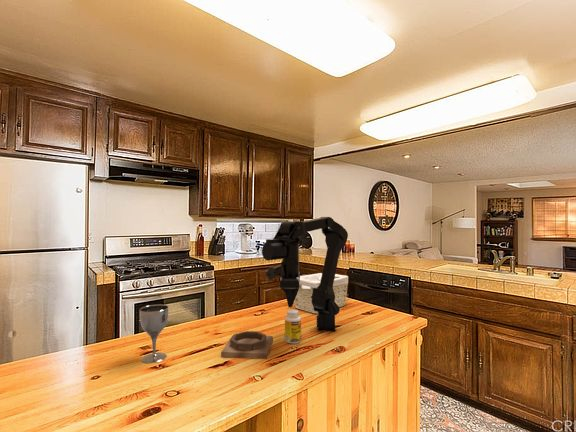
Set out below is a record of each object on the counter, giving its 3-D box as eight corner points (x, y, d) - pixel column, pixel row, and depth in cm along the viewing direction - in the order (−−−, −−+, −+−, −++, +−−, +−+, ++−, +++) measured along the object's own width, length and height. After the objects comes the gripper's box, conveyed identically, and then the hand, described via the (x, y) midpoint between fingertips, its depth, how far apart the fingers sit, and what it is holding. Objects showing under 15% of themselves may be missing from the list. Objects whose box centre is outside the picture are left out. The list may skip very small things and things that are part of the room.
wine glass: (140, 366, 88) (140, 313, 88) (139, 355, 95) (139, 306, 95) (169, 360, 92) (169, 309, 92) (166, 350, 99) (166, 303, 99)
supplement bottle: (290, 345, 102) (290, 314, 103) (281, 340, 107) (281, 310, 107) (304, 341, 105) (304, 311, 106) (295, 336, 110) (295, 307, 110)
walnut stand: (272, 340, 107) (272, 330, 107) (266, 358, 93) (266, 346, 93) (232, 339, 108) (232, 329, 108) (221, 356, 94) (221, 345, 94)
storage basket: (324, 299, 162) (324, 271, 162) (350, 306, 150) (350, 275, 150) (291, 308, 146) (291, 277, 146) (316, 316, 134) (316, 282, 134)
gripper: (270, 254, 116) (270, 296, 116) (263, 261, 97) (263, 311, 97) (299, 254, 115) (300, 296, 115) (299, 261, 97) (299, 311, 97)
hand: (290, 303), depth 106 cm, fingers open, 9 cm apart
